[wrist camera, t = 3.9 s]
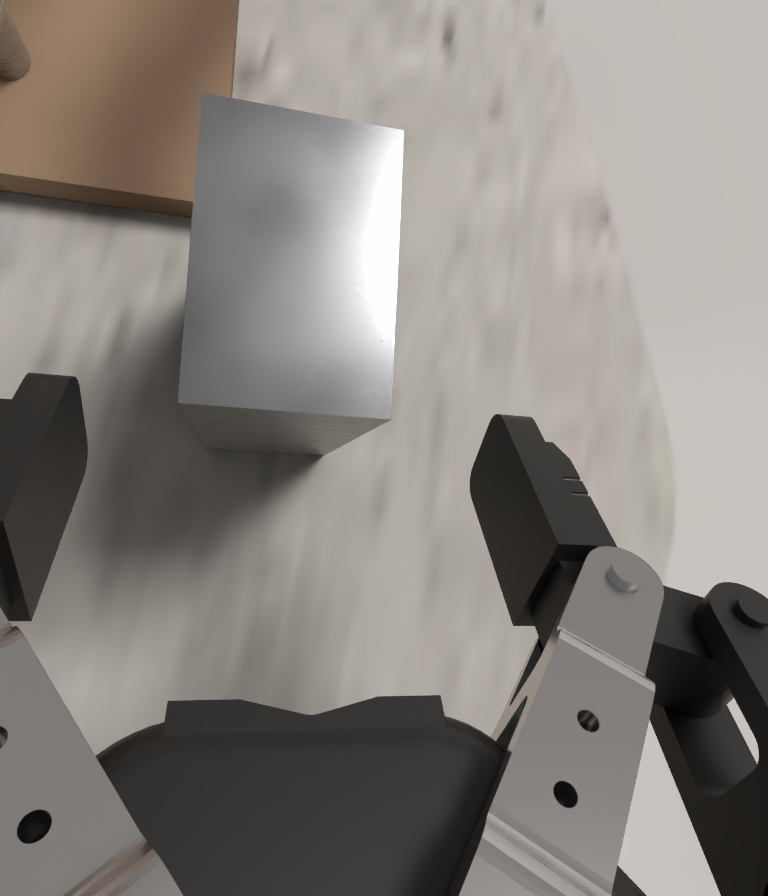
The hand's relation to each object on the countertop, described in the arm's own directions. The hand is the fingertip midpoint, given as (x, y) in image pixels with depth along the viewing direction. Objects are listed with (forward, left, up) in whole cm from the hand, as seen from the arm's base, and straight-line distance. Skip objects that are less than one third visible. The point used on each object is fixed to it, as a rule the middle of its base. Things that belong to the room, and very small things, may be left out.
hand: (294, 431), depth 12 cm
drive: (0, +3, -9) cm, 10 cm away
